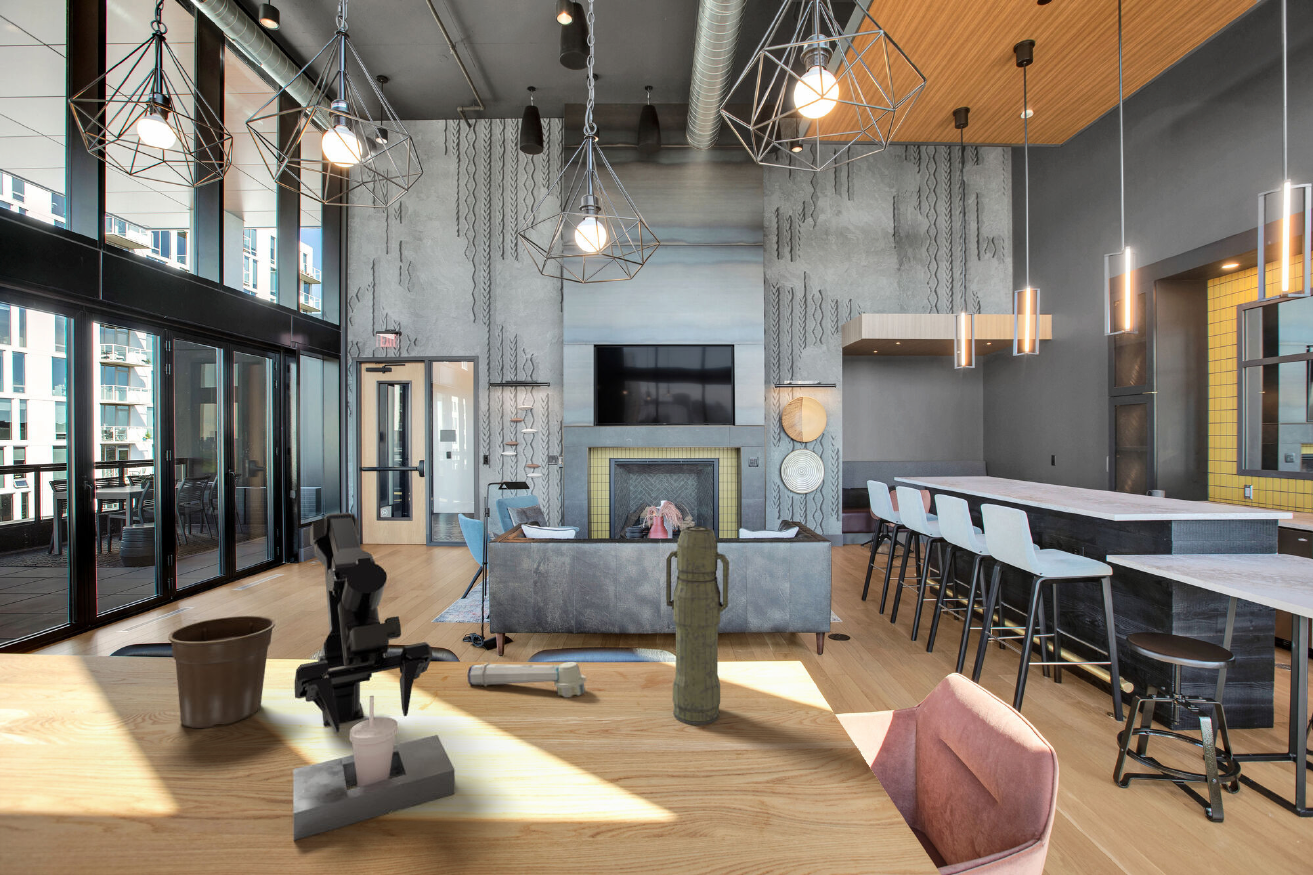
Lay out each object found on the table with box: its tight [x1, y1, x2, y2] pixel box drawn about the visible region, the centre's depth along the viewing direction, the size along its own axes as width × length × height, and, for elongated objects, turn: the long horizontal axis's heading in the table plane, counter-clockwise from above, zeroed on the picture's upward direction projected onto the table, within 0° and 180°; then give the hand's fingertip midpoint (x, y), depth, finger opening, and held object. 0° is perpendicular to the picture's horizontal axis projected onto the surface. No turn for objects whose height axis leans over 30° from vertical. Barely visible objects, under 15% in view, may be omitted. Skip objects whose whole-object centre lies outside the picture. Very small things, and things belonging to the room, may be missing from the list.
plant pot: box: [167, 615, 276, 729], centre depth 112 cm, size 16×16×16 cm
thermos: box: [665, 525, 730, 726], centre depth 114 cm, size 9×12×35 cm
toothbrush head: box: [466, 661, 587, 698], centre depth 125 cm, size 5×7×25 cm
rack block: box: [292, 734, 456, 841], centre depth 87 cm, size 12×20×4 cm, turn 121°
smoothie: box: [349, 695, 399, 787], centre depth 87 cm, size 6×6×14 cm
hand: (372, 723), depth 88 cm, fingers open, 9 cm apart
